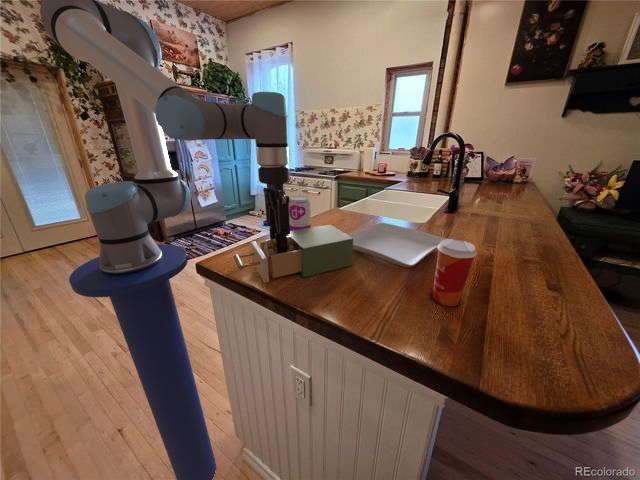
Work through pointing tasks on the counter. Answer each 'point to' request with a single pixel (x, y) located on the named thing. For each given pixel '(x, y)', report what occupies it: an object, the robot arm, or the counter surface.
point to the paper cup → (452, 270)
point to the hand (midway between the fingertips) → (279, 252)
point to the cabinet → (323, 249)
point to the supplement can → (299, 212)
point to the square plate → (395, 243)
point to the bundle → (271, 246)
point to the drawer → (272, 261)
